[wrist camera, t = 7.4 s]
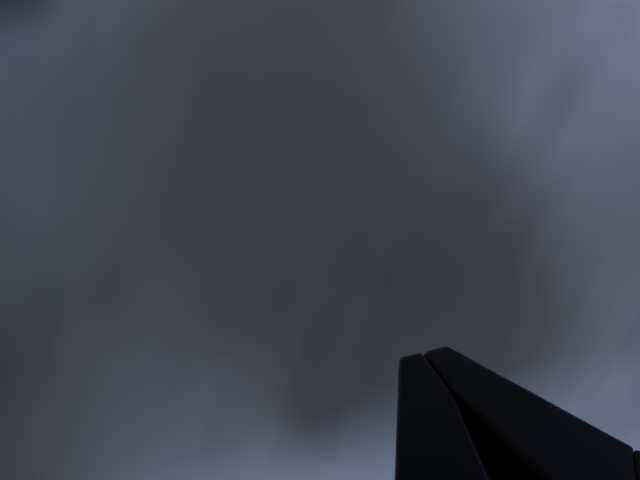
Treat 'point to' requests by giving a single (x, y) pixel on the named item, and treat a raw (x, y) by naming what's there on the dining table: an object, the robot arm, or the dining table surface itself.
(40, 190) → the dining table surface
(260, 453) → the dining table surface
